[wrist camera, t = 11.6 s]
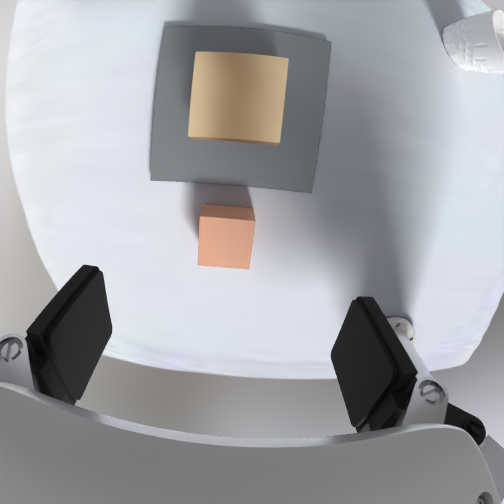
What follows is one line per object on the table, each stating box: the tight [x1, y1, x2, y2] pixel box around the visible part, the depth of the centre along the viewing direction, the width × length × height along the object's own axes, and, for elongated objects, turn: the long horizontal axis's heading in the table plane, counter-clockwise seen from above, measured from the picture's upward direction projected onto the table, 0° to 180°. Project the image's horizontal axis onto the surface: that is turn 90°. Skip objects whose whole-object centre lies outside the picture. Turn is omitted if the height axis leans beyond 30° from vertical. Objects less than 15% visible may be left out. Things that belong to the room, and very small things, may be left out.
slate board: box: [151, 26, 331, 193], centre depth 23 cm, size 16×16×1 cm
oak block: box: [188, 52, 289, 143], centre depth 17 cm, size 6×6×4 cm
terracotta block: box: [198, 204, 255, 269], centre depth 28 cm, size 5×5×4 cm
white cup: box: [442, 9, 504, 74], centre depth 15 cm, size 8×8×10 cm
